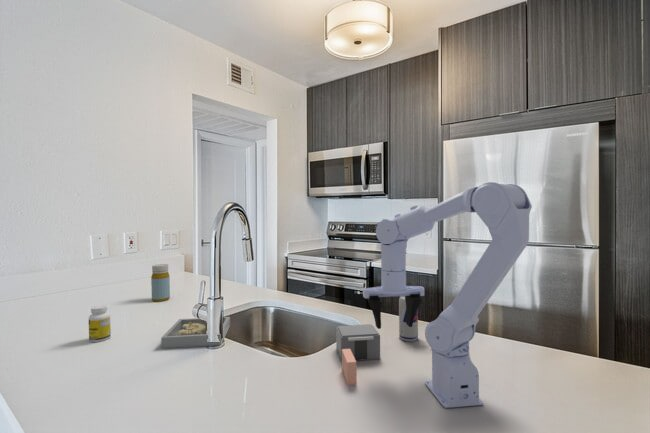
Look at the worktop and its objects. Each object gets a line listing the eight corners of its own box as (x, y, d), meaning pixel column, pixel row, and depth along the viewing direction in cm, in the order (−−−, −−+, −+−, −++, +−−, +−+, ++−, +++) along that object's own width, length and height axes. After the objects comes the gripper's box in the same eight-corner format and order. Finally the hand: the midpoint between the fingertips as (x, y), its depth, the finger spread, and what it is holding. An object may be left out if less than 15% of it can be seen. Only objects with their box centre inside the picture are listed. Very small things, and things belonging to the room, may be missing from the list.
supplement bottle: (85, 340, 99) (84, 307, 99) (104, 334, 104) (103, 303, 104) (95, 344, 97) (94, 310, 97) (114, 337, 102) (113, 305, 101)
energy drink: (418, 342, 95) (418, 300, 95) (399, 341, 96) (399, 299, 96) (417, 335, 100) (417, 295, 100) (399, 334, 102) (398, 294, 101)
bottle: (152, 299, 146) (151, 264, 146) (169, 297, 149) (169, 263, 149) (151, 302, 140) (150, 267, 140) (169, 300, 143) (169, 265, 142)
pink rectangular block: (356, 384, 73) (356, 361, 73) (347, 385, 73) (347, 362, 73) (350, 369, 80) (350, 348, 80) (341, 370, 80) (341, 349, 79)
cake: (208, 333, 107) (209, 316, 107) (207, 345, 97) (208, 327, 97) (174, 334, 104) (175, 316, 104) (169, 347, 94) (171, 328, 94)
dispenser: (380, 359, 84) (380, 335, 84) (341, 362, 83) (341, 337, 83) (372, 346, 93) (371, 323, 93) (336, 348, 92) (336, 325, 92)
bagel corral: (220, 345, 95) (220, 334, 95) (161, 348, 93) (161, 337, 93) (230, 325, 111) (229, 316, 111) (179, 328, 109) (179, 319, 109)
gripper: (416, 265, 85) (416, 319, 85) (359, 267, 83) (360, 322, 83) (428, 271, 78) (428, 329, 78) (366, 273, 76) (367, 332, 76)
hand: (393, 326), depth 80 cm, fingers open, 7 cm apart
